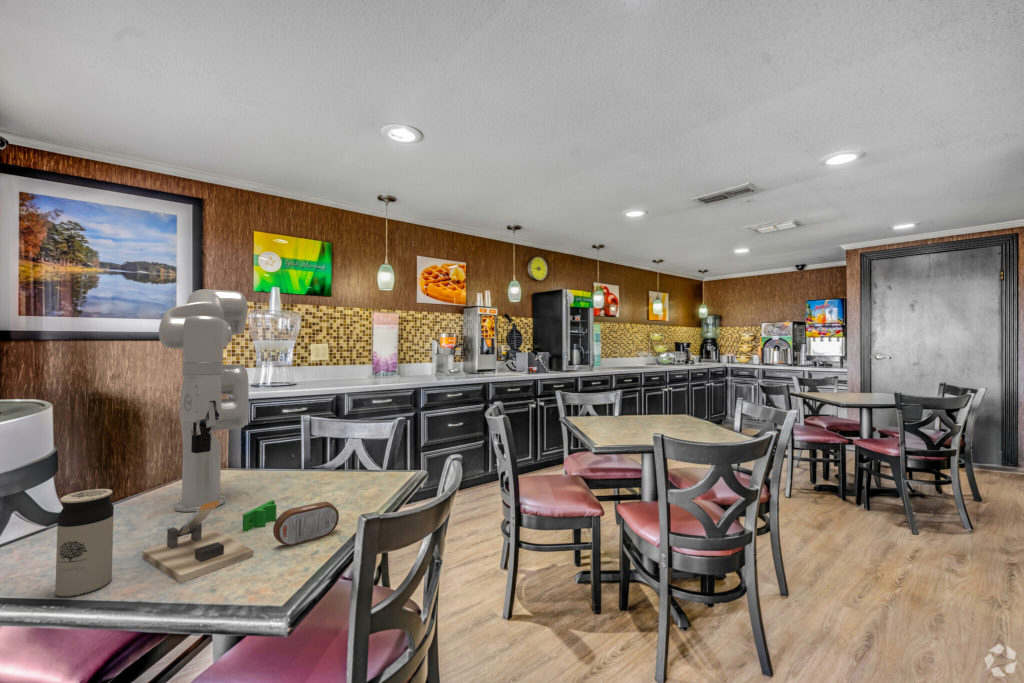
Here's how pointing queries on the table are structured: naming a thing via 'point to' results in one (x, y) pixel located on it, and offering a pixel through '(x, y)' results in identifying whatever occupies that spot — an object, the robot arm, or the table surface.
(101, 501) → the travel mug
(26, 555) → the table surface
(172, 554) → the base plate
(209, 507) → the hinged lever
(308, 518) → the tin
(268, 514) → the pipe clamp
